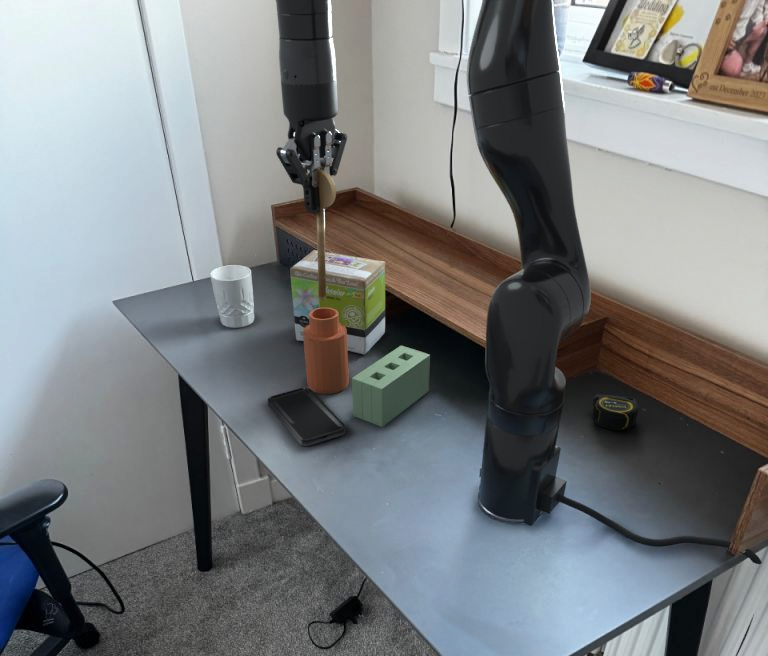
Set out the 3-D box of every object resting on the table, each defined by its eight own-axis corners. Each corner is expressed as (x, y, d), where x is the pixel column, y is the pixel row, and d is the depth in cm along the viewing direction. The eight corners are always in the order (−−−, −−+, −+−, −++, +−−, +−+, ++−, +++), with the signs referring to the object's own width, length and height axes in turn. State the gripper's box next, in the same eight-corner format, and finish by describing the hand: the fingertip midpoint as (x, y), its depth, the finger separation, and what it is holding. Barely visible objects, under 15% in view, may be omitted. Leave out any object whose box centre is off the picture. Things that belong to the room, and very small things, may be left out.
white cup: (254, 329, 143) (247, 280, 137) (214, 329, 143) (206, 280, 137) (259, 312, 149) (253, 264, 143) (221, 312, 149) (214, 264, 143)
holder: (428, 391, 124) (430, 354, 120) (382, 427, 116) (381, 388, 111) (400, 381, 127) (401, 345, 122) (353, 415, 118) (351, 378, 114)
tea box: (294, 342, 139) (287, 266, 129) (318, 321, 146) (313, 247, 136) (366, 356, 134) (364, 278, 125) (386, 333, 141) (386, 258, 132)
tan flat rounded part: (337, 303, 116) (336, 173, 103) (332, 305, 115) (331, 175, 102) (312, 294, 118) (308, 165, 105) (307, 296, 117) (303, 167, 104)
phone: (307, 386, 123) (347, 427, 113) (308, 391, 124) (347, 433, 114) (264, 398, 120) (301, 441, 110) (265, 404, 121) (302, 448, 111)
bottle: (356, 380, 127) (354, 311, 119) (331, 398, 123) (326, 327, 114) (325, 369, 130) (320, 300, 122) (299, 386, 126) (292, 315, 118)
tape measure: (633, 414, 118) (638, 394, 116) (634, 437, 113) (640, 416, 110) (591, 409, 119) (595, 389, 117) (590, 431, 114) (594, 411, 112)
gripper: (296, 87, 91) (306, 228, 102) (361, 72, 99) (364, 203, 110) (252, 81, 94) (267, 218, 105) (319, 67, 103) (326, 195, 114)
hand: (317, 210), depth 108 cm, fingers closed on tan flat rounded part, 1 cm apart
